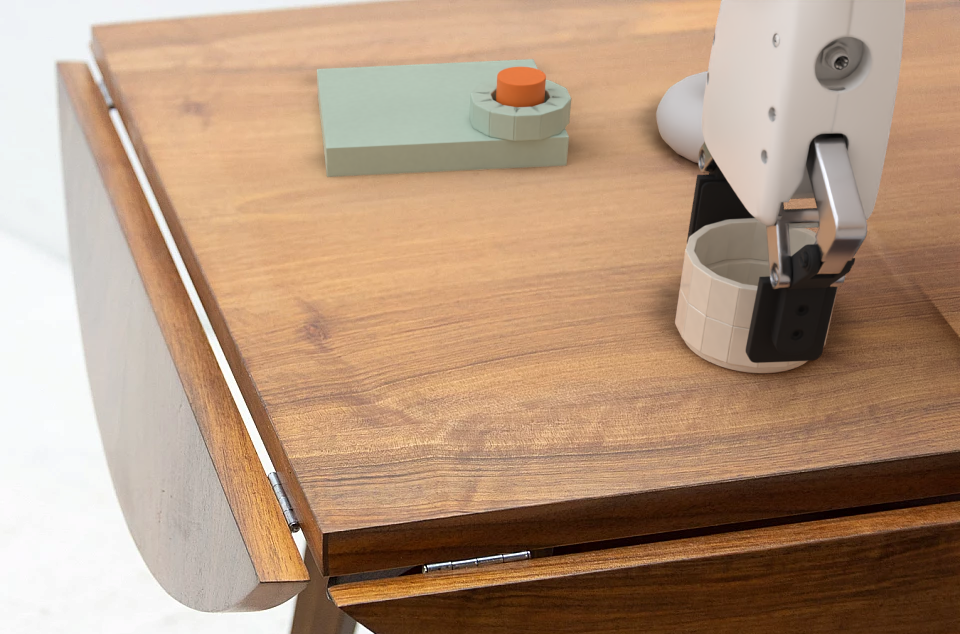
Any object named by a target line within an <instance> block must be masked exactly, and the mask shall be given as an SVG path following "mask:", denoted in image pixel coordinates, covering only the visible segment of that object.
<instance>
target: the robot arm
mask: <svg viewBox="0 0 960 634" xmlns="http://www.w3.org/2000/svg"><path fill="white" fill-rule="evenodd" d="M906 3H907V0H720V5H719V8H718V9H719V10H718V14H717V19H716V22H715V23H716V24H715V29H714V35H713V40H712V45H711V50H710V56H709V61H708V68H707V71H708V72H707V79H706V86H705V94H704V102H703V113H702V133H703V137H704V141H705V142H704V143H703V145H702V146H701V148H700V150H699V155H698V163H697V164H698V170H699V172H700V173H706V174H697V175H696V180H695V187H694V194H693V199H692V205H691V212H690V219H689V225H688V232H687V239H686V244H687V243H688V240H689V237H690V236H691V235H692V234H694V233H695V232H697V231H698V230H699V229H701V228H702V227H704V226H706V225H709V224H713V223H717V222H720V221H724V220H728V219H748V218H756V219H757V220H758V221H759V222H761V223H763V224H764V225H766V232H767V246H768V261H769V276H767V277H759V282H758V287H757V293H756V298H755V303H754V308H753V313H752V319H751V324H750V329H749V334H748V339H747V344H746V354H747V356H748V358H749V359H750V361H751V362H754V363H767V362H792V361H807V362H813V361H816V360H818V359H819V358H821V357H822V355H823V352H824V348H825V345H824V343H825V339H826V340H827V338H826V335H827V336H828V334H827V330H828V331H829V329H828V326H829V327H830V325H829V322H830V323H831V320H830V317H831V318H832V316H831V313H832V314H833V311H832V309H833V310H834V307H833V304H834V305H835V302H834V300H835V301H836V298H835V296H836V297H837V293H836V292H838V288H840V287H842V286H843V285H844V283H845V279H846V275H848V274H850V272H851V270H852V268H853V266H854V265H855V262H856V257H855V256H856V254H857V252H858V251H859V249H860V248H861V247H862V244H863V243H864V241H865V240H866V237H867V234H868V221H867V220H869V218H870V217H871V216H872V214H873V212H874V210H875V207H876V202H877V198H878V194H879V190H880V186H881V182H882V175H883V170H884V165H885V162H886V161H885V160H886V154H887V150H888V146H889V145H888V144H889V140H890V134H891V129H892V124H893V117H894V111H895V105H896V100H897V99H896V98H897V93H898V85H899V82H900V81H899V80H900V73H901V65H902V57H903V50H904V49H903V48H904V36H905V35H904V34H905V26H906V25H905V23H906V8H907V7H906V5H907V4H906ZM707 173H708V174H707ZM802 199H807V200H808V199H814V202H815V206H816V207H807V208H785V204H784V203H789V202H790V200H802ZM792 228H806V229H815V228H816V229H817V232H816V233H817V234H816V235H815V238H816V241H815V243H814V244H807V245H805V246H804V247H802V248H801V249H800V250H799V251H797V252H796V253H795V254H793V255H792V256H791V250H790V235H789V229H792ZM837 287H838V288H837ZM825 344H826V343H825Z"/></svg>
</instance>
